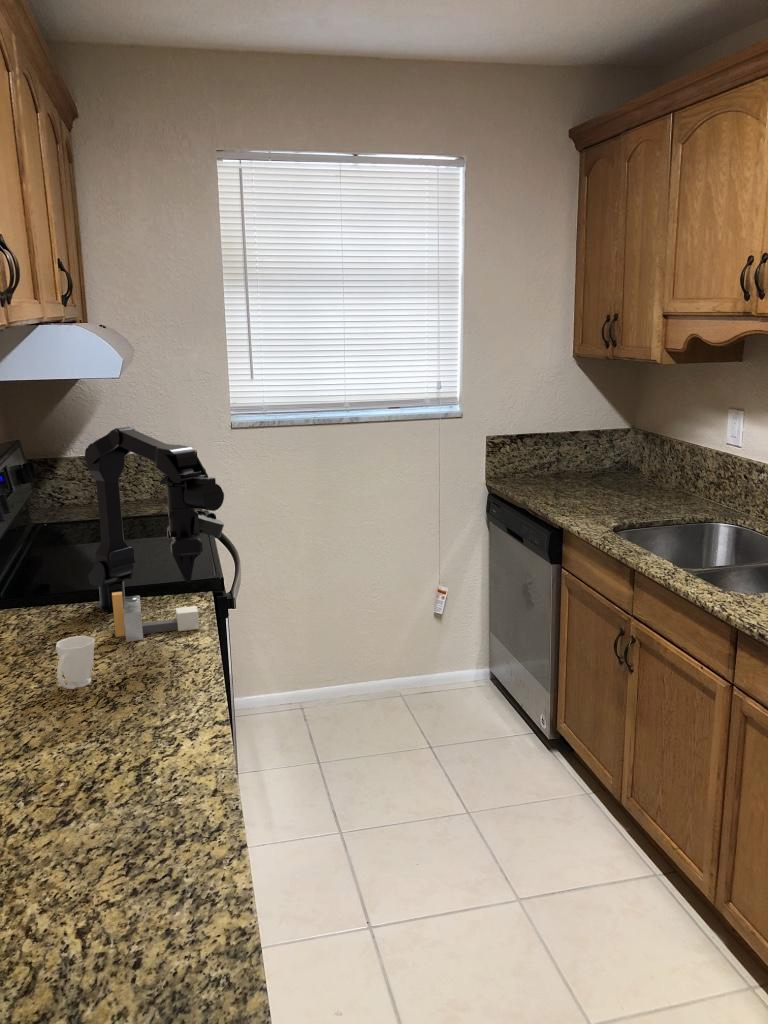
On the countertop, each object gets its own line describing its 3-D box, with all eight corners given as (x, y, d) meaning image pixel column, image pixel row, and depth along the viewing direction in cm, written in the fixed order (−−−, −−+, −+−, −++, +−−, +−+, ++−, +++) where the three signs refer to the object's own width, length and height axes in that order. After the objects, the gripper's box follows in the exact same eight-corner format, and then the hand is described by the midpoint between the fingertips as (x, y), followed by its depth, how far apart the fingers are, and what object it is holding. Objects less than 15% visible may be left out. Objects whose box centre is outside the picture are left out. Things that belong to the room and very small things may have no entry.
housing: (126, 641, 174) (123, 612, 173) (125, 623, 185) (123, 596, 184) (143, 639, 175) (140, 610, 174) (141, 621, 186) (139, 594, 185)
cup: (105, 676, 156) (102, 635, 154) (80, 698, 146) (75, 655, 145) (71, 674, 157) (67, 634, 155) (43, 696, 147) (38, 654, 146)
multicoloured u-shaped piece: (115, 638, 175) (111, 596, 173) (115, 632, 179) (112, 591, 177) (199, 628, 180) (196, 588, 179) (197, 623, 184) (195, 583, 182)
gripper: (225, 511, 170) (229, 584, 173) (215, 496, 187) (219, 562, 190) (169, 515, 167) (174, 589, 170) (164, 499, 184) (169, 567, 187)
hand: (186, 576), depth 179 cm, fingers open, 9 cm apart
